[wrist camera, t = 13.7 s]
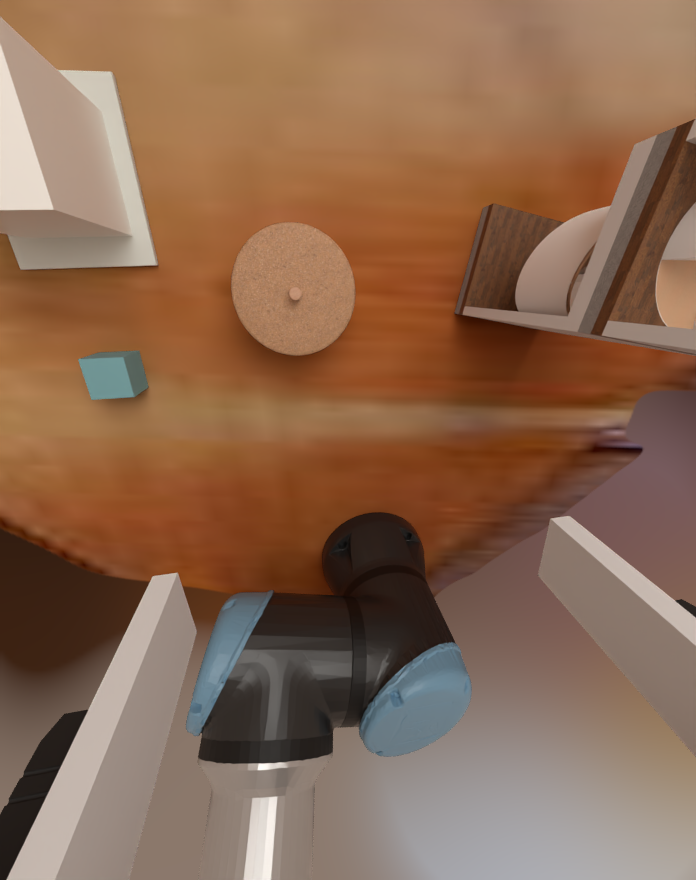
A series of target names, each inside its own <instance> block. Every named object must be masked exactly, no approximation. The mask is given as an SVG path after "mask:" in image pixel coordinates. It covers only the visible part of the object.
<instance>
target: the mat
mask: <svg viewBox="0 0 696 880" xmlns="http://www.w3.org/2000/svg"><path fill="white" fill-rule="evenodd" d="M58 71H59V72H60V73H61V74H62V75H63V76H64V77H65V78H66V79H67V80H68V81H69V82H71V83H72V84H73V85H74V86H75V87H76V88H77V89H78V90H79V91H80V92H81V93H82V94H83V95H84V96H85V97H87V98H88V99H89V100H90V101H91V102H92V103H93V104H94V105H95V106H96V107H97V108H98V109H99V110H100V111H101V112H102V115H103V119H104V123H105V127H106V131H107V135H108V139H109V143H110V147H111V151H112V155H113V159H114V163H115V167H116V171H117V175H118V179H119V183H120V187H121V191H122V195H123V199H124V203H125V207H126V211H127V215H128V219H129V223H130V227H131V231H132V235H133V236H108V237H64V238H23V237H18V236H12V235H8V238H9V241H10V243H11V246H12V249H13V251H14V254H15V256H16V259H17V262H18V264H19V267H20V270H35V269H65V268H96V267H127V266H157V265H158V261H157V256H156V252H155V248H154V243H153V239H152V235H151V230H150V226H149V222H148V217H147V213H146V209H145V204H144V200H143V196H142V191H141V187H140V183H139V179H138V174H137V170H136V166H135V161H134V157H133V153H132V148H131V144H130V140H129V135H128V131H127V127H126V122H125V118H124V114H123V110H122V105H121V101H120V97H119V92H118V88H117V84H116V79H115V76H114V74H113V73H112V72H101V71H69V70H58Z"/></svg>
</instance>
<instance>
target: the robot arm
mask: <svg viewBox="0 0 696 880" xmlns="http://www.w3.org/2000/svg"><path fill="white" fill-rule="evenodd" d="M322 563H323V571H324V576H325V579H326V581H327V583H328V585H329V587H330V588H331V590H332V592H333V594H334V595H312V594H293V593H274V590H270V591H268V592H242V593H237V594H234V595H233V596H231V597H230V598H229V599H228V600H227V601H226V602H225V604H224V605H223V606H222V608H221V610H220V613H219V615H218V618H217V620H216V623H215V626H214V629H213V631H212V634H211V637H210V640H209V643H208V646H207V649H206V652H205V655H204V658H203V662H202V665H201V668H200V671H199V675H198V678H197V682H196V685H195V689H194V693H193V699H192V702H191V707H190V710H189V713H188V716H187V721H186V729H187V731H188V732H189V733H192V734H193V735H194V736H199V735H200V733H202V739H201V744H200V750H199V755H198V764H199V766H200V768H201V769H202V771H203V772H204V774H205V775H206V777H207V778H208V780H209V782H210V786H211V790H212V791H211V798H210V804H209V812H208V818H207V824H206V830H205V837H204V843H203V850H202V857H201V863H200V870H199V877H198V880H312V857H313V855H312V854H313V826H314V825H313V824H314V823H313V822H314V793H315V782H316V779H317V777H318V776H319V774H320V773H321V772H322V770H323V769H324V768H325V766H326V765H327V763H328V762H329V760H330V759H331V758H332V754H333V729H334V728H335V727H359V734H360V737H361V739H362V740H363V743H364V745H365V746H366V748H367V749H368V750H369V751H370V752H372V753H376V754H377V755H379V756H384V757H391V756H399V755H404V754H408V753H411V752H413V751H416V750H419V749H421V748H423V747H425V746H427V745H429V744H431V743H433V742H434V741H436V740H438V739H439V738H440V737H442V736H443V735H445V734H446V733H447V732H448V731H450V730H451V729H452V728H453V727H454V726H455V725H456V724H457V722H459V720H460V719H461V718H462V716H463V715H464V713H465V712H466V710H467V708H468V706H469V703H470V699H471V691H472V687H471V681H470V678H469V675H468V672H467V670H466V667H465V664H464V662H463V659H462V656H461V651H460V648H459V647H458V645H457V644H456V643H455V641H454V639H453V637H452V634H451V632H450V630H449V628H448V626H447V624H446V622H445V620H444V618H443V616H442V614H441V611H440V609H439V607H438V605H437V603H436V601H435V599H434V597H433V595H432V592H431V590H430V588H429V586H428V584H427V582H426V579H425V562H424V550H423V546H422V543H421V541H420V539H419V537H418V535H417V533H416V531H415V529H414V528H413V527H412V525H411V524H410V523H408V522H407V521H406V520H404V519H403V518H401V517H398V516H396V515H393V514H388V513H369V514H364V515H360V516H357V517H355V518H352V519H350V520H348V521H347V522H345V523H343V524H342V525H341V526H339V527H338V528H337V529H336V530H335V531H334V532H333V533H332V534H331V536H330V537H329V538H328V540H327V542H326V544H325V546H324V549H323V554H322ZM538 576H539V577H540V579H541V580H542V581H543V582H544V583H545V584H546V585H547V586H548V588H549V589H550V590H551V591H552V592H553V593H554V595H555V596H556V597H557V598H558V599H559V600H560V602H561V603H562V604H563V605H564V606H565V607H566V608H567V610H568V611H569V612H570V613H571V614H572V615H573V616H574V618H575V619H576V620H577V621H578V622H579V623H580V624H581V626H582V627H583V628H584V629H585V630H586V631H587V633H588V634H589V635H590V636H591V637H592V638H593V639H594V640H595V642H596V643H597V644H598V645H599V646H600V647H601V649H602V650H603V651H604V652H605V653H606V654H607V655H608V657H609V658H610V659H611V660H612V661H613V662H614V664H615V665H616V666H617V667H618V668H619V669H620V670H621V672H622V673H623V674H624V675H625V676H626V677H627V679H628V680H629V681H630V682H631V683H632V684H633V685H634V687H636V689H637V690H638V691H639V692H640V693H641V695H642V696H643V697H644V698H645V699H646V700H647V701H648V703H649V704H650V705H651V706H652V707H653V708H654V709H655V711H656V712H657V713H658V714H659V715H660V716H661V718H662V719H663V720H664V721H665V722H666V723H667V724H668V726H669V727H670V728H671V729H672V730H673V731H674V732H675V734H676V735H677V736H678V737H679V738H680V739H681V740H682V742H683V743H684V744H685V745H686V746H687V747H688V749H689V750H690V751H691V752H692V753H693V754H694V755H695V757H696V607H695V606H693V605H691V604H690V603H688V602H686V601H684V600H682V599H681V600H675V601H674V600H673V599H672V598H671V597H669V596H668V595H667V594H666V593H664V592H663V591H662V590H661V589H660V588H658V587H657V586H656V585H654V584H653V583H652V582H651V581H649V580H648V579H647V578H646V577H645V576H643V575H642V574H641V573H640V572H638V571H637V570H636V569H635V568H633V567H632V566H631V565H630V564H628V563H627V562H626V561H625V560H624V559H622V558H621V557H620V556H619V555H617V554H616V553H615V552H614V551H612V550H611V549H610V548H609V547H607V546H606V545H605V544H604V543H602V542H601V541H600V540H599V539H597V538H596V537H595V536H594V535H592V534H591V533H590V532H589V531H587V530H586V529H585V528H584V527H582V526H581V525H580V524H579V523H577V522H576V521H575V520H574V519H573V518H571V517H570V516H565V517H559V518H552V519H550V523H549V527H548V532H547V537H546V541H545V546H544V551H543V555H542V559H541V564H540V568H539V573H538ZM196 633H197V631H196V628H195V625H194V622H193V618H192V616H191V612H190V609H189V606H188V603H187V600H186V597H185V594H184V591H183V588H182V584H181V581H180V578H179V575H178V573H172V574H166V575H159V576H153V577H152V579H151V581H150V583H149V585H148V587H147V590H146V591H145V593H144V596H143V598H142V600H141V602H140V604H139V606H138V608H137V610H136V612H135V615H134V616H133V619H132V621H131V623H130V625H129V627H128V629H127V631H126V633H125V635H124V637H123V639H122V641H121V643H120V645H119V647H118V650H117V652H116V654H115V656H114V658H113V660H112V662H111V664H110V666H109V668H108V671H107V673H106V674H105V676H104V679H103V681H102V683H101V685H100V687H99V689H98V691H97V693H96V695H95V697H94V699H93V701H92V703H91V706H90V708H89V710H84V711H78V712H73V713H68V714H64V715H63V716H62V717H61V719H60V720H59V721H58V722H57V723H56V724H55V725H54V727H53V728H52V729H51V730H50V731H49V732H48V734H47V735H46V736H45V737H44V738H43V739H42V740H41V742H40V744H39V745H38V747H37V749H36V751H35V753H34V755H33V756H32V758H31V760H30V762H29V763H28V765H27V767H26V769H25V771H24V775H23V777H22V778H21V779H20V780H19V781H18V783H17V785H16V787H15V789H14V791H13V792H12V794H11V796H10V798H9V803H8V804H7V806H5V807H4V808H3V810H2V812H1V814H0V880H129V877H130V874H131V870H132V867H133V863H134V859H135V856H136V852H137V849H138V845H139V841H140V837H141V834H142V830H143V827H144V823H145V819H146V816H147V812H148V808H149V804H150V801H151V797H152V794H153V790H154V786H155V783H156V779H157V775H158V772H159V768H160V765H161V761H162V757H163V754H164V750H165V746H166V742H167V739H168V735H169V732H170V728H171V724H172V720H173V717H174V714H175V710H176V706H177V703H178V698H179V695H180V691H181V688H182V684H183V681H184V677H185V673H186V670H187V666H188V662H189V659H190V655H191V652H192V648H193V644H194V641H195V637H196Z"/></svg>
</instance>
